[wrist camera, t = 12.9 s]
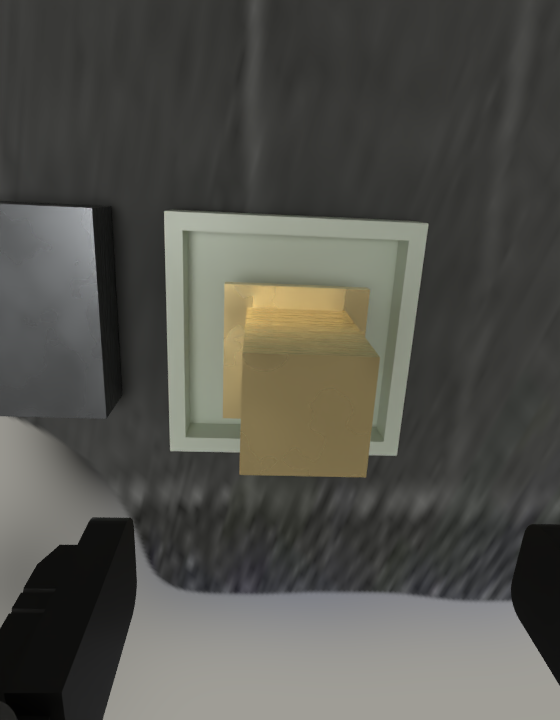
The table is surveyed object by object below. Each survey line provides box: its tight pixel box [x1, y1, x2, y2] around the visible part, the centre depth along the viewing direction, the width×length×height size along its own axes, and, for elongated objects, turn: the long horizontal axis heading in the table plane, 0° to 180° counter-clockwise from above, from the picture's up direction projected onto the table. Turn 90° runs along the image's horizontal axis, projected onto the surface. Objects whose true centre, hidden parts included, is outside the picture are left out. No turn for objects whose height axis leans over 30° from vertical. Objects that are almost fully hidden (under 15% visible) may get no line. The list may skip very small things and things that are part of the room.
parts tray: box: [164, 209, 428, 456], centre depth 25 cm, size 12×12×2 cm
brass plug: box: [223, 282, 380, 477], centre depth 21 cm, size 6×6×10 cm
